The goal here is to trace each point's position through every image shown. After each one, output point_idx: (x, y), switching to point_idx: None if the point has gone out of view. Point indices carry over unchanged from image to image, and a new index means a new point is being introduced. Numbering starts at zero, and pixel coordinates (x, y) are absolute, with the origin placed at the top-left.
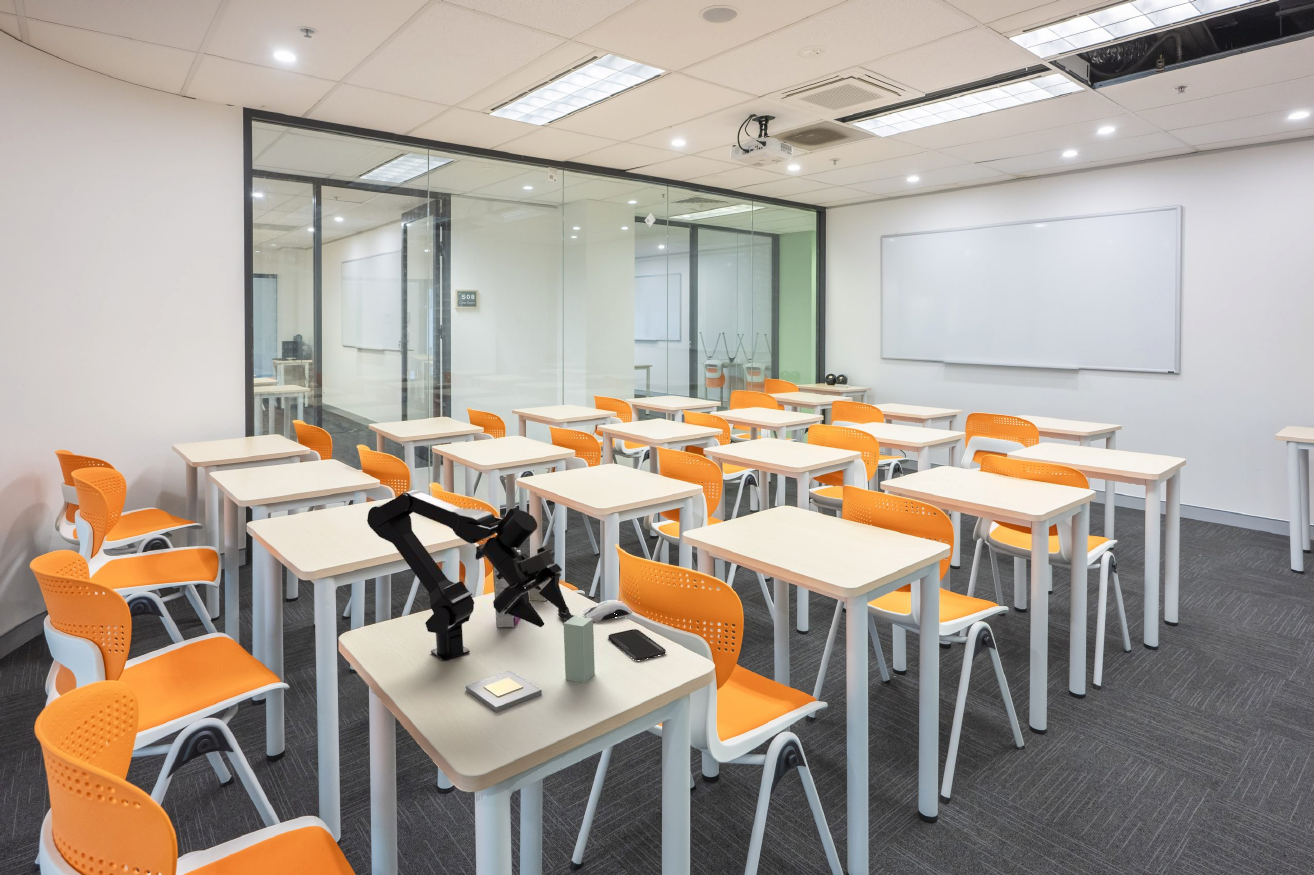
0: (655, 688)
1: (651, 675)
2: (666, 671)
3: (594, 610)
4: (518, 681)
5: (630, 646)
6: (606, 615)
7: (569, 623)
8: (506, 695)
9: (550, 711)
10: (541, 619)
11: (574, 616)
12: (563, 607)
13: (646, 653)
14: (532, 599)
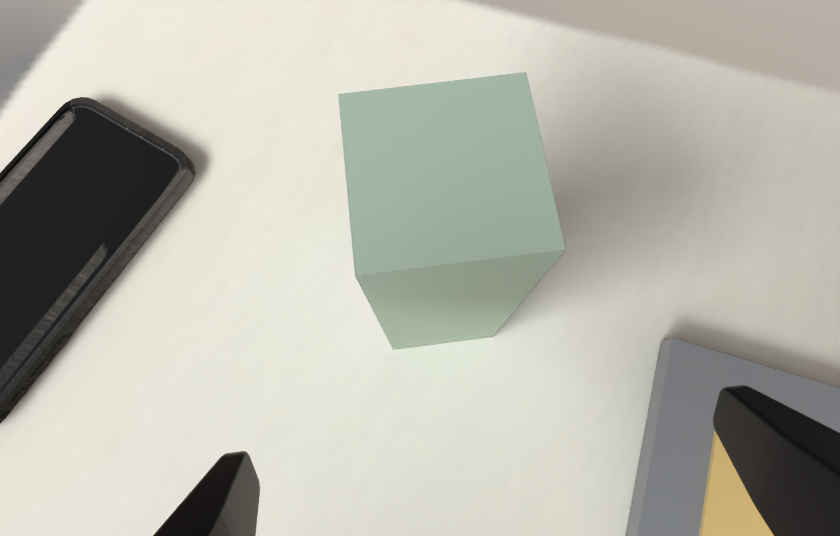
0: (379, 6)
1: (292, 62)
2: (238, 34)
3: None
4: (683, 503)
5: (73, 254)
6: None
7: (536, 201)
8: None
9: (737, 220)
10: (774, 417)
11: (370, 262)
12: (241, 498)
13: (125, 154)
14: None
